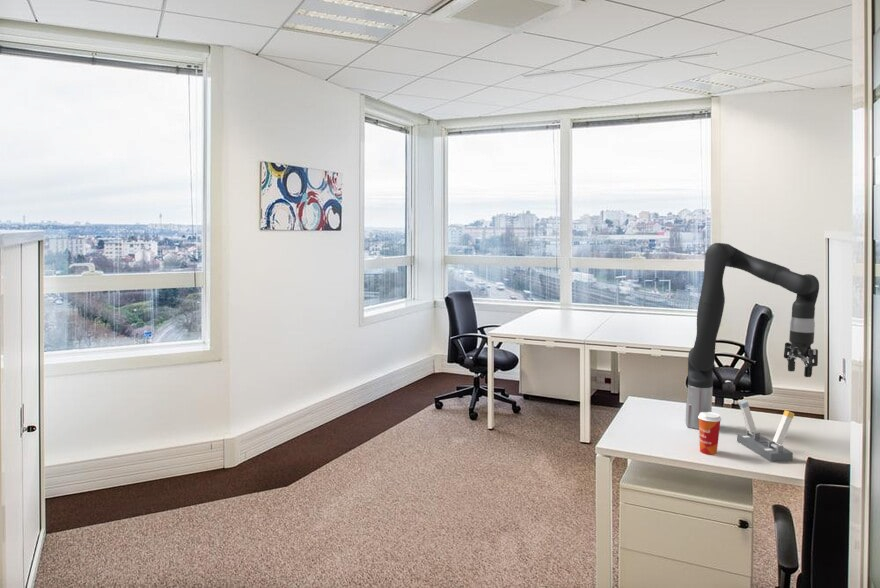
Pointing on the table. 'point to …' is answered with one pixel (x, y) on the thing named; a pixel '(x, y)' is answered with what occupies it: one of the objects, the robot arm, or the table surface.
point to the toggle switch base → (764, 447)
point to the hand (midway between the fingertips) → (799, 373)
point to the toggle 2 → (783, 428)
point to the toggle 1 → (747, 417)
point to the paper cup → (709, 432)
